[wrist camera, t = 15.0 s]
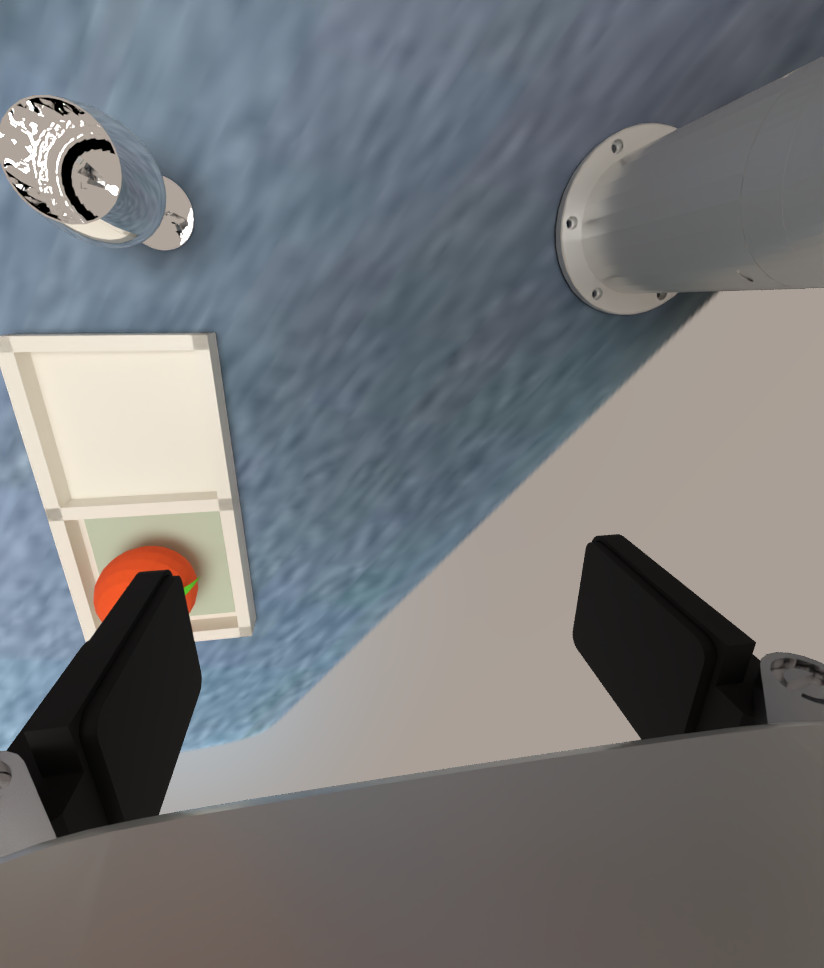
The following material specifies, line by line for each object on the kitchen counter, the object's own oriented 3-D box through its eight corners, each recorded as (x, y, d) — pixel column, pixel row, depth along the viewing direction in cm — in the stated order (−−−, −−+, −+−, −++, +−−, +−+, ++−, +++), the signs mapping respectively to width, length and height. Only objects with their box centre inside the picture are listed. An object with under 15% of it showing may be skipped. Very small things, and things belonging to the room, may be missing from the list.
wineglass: (190, 276, 32) (117, 263, 21) (100, 235, 31) (-30, 197, 20) (216, 190, 31) (151, 127, 20) (122, 142, 29) (-6, 44, 18)
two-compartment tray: (215, 332, 34) (206, 334, 31) (256, 617, 43) (252, 635, 40) (15, 333, 32) (-10, 336, 29) (102, 632, 41) (89, 652, 39)
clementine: (192, 512, 37) (162, 557, 31) (234, 579, 40) (215, 633, 33) (98, 550, 37) (49, 602, 31) (147, 614, 40) (111, 675, 33)
